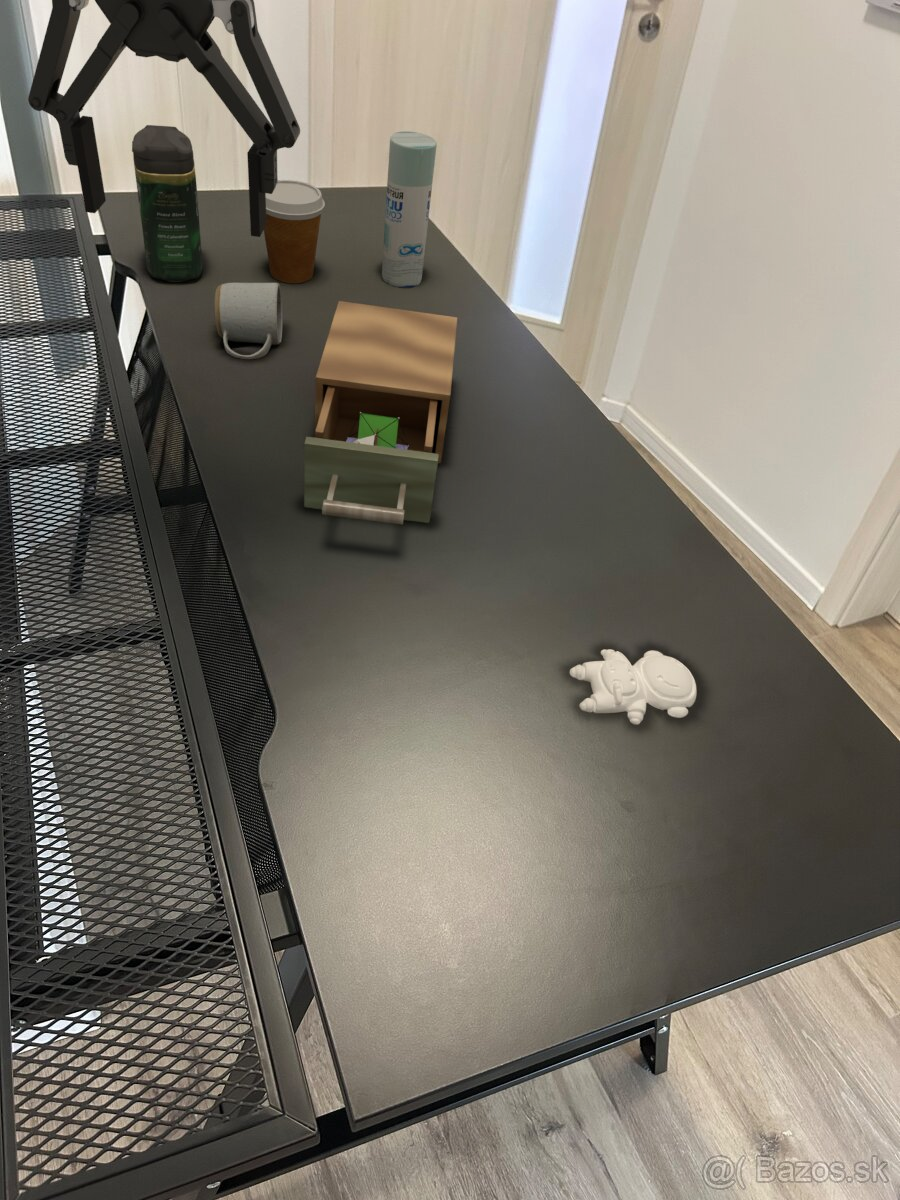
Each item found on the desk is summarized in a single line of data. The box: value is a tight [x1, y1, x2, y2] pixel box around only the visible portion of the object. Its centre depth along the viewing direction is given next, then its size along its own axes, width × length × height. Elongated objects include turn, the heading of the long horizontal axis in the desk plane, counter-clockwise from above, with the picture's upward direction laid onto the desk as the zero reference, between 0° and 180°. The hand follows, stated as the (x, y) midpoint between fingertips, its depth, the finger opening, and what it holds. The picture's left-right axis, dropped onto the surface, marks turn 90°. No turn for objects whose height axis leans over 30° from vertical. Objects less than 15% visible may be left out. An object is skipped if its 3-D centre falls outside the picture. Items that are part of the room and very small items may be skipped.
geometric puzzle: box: [346, 412, 409, 450], centre depth 92 cm, size 7×7×8 cm
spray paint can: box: [381, 130, 437, 289], centre depth 125 cm, size 6×6×20 cm
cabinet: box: [314, 300, 458, 464], centre depth 102 cm, size 18×15×10 cm
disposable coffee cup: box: [263, 179, 326, 284], centre depth 124 cm, size 10×10×12 cm
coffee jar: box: [131, 124, 203, 283], centre depth 118 cm, size 10×8×19 cm
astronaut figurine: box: [569, 648, 697, 725], centre depth 78 cm, size 9×12×3 cm
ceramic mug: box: [214, 282, 284, 360], centre depth 110 cm, size 11×8×8 cm
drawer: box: [303, 385, 439, 525], centre depth 92 cm, size 22×13×8 cm, turn 177°
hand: (177, 218), depth 72 cm, fingers open, 13 cm apart
